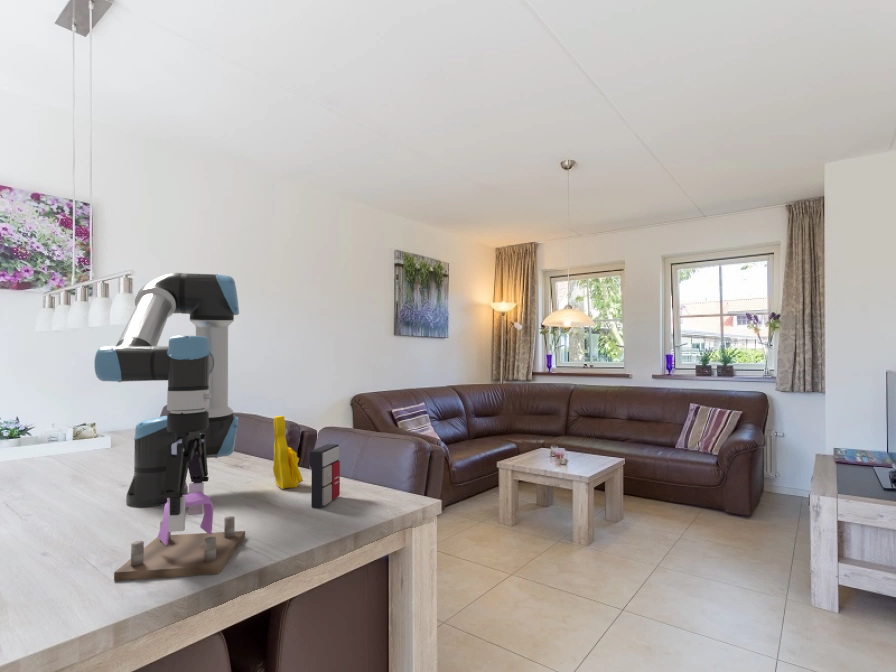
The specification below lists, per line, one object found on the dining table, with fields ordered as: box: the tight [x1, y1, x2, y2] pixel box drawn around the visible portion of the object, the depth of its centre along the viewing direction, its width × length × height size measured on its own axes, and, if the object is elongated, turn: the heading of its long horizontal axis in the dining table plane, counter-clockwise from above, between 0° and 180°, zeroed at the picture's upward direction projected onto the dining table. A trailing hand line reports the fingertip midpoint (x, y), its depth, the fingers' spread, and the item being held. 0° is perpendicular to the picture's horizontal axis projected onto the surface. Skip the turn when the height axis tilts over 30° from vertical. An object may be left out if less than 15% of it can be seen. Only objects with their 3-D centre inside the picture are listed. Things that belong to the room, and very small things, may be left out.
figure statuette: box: [272, 415, 304, 490], centre depth 150 cm, size 18×8×22 cm, turn 37°
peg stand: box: [113, 515, 246, 581], centre depth 98 cm, size 18×18×6 cm
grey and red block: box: [309, 443, 341, 509], centre depth 134 cm, size 11×4×15 cm, turn 168°
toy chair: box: [156, 486, 214, 545], centre depth 98 cm, size 8×9×15 cm
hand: (186, 521), depth 98 cm, fingers closed on toy chair, 9 cm apart
